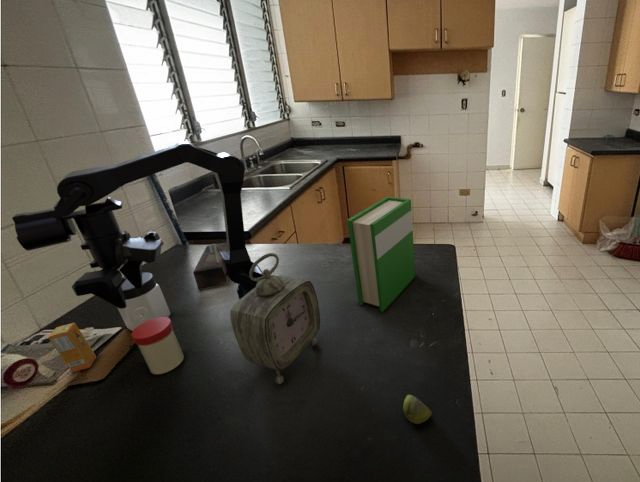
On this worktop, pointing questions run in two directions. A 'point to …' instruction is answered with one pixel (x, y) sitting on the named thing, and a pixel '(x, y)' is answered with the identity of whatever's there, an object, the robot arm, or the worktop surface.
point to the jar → (143, 302)
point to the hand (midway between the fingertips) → (131, 297)
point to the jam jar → (162, 354)
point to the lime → (415, 410)
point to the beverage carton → (211, 267)
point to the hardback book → (382, 250)
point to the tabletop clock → (276, 319)
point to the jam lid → (152, 331)
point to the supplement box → (72, 347)
